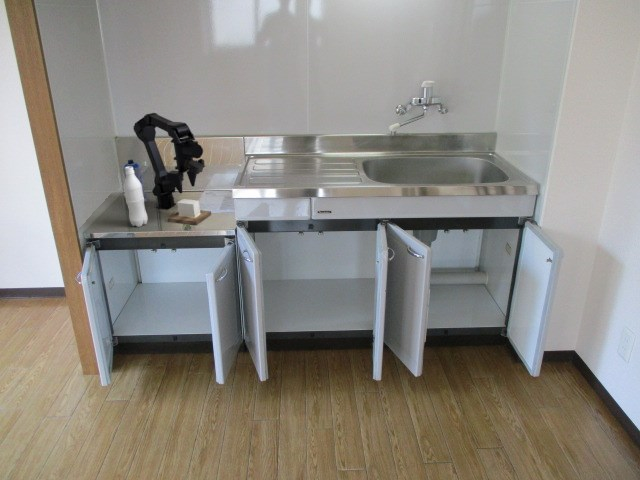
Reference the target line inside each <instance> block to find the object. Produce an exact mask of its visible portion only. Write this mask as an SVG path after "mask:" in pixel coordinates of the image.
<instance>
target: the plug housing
mask: <svg viewBox="0 0 640 480" xmlns="http://www.w3.org/2000/svg"><path fill="white" fill-rule="evenodd" d="M176 205H177V212H178V211H179V216H187V217H196V216H198V215H199V214H200V210H201V208H200V200H194V199H188V198H187V199H185V198H182V199H181V200H179V201H177V203H176Z"/></svg>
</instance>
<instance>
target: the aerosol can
mask: <svg viewBox="0 0 640 480" xmlns="http://www.w3.org/2000/svg"><path fill="white" fill-rule="evenodd" d="M127 166H133V170H134V172H135V173H134V174H135V176H136V177H137V179H138V180H139V181H140V183H141V185H142V191H143V197H144V203H147V201H148V199H147V198H146V197H147V196H146V192H145V185H144V180H143V173H142V168H141V166H140V164H138V163H137V162H134V159H128V160H127V163H125V165H124V166H123V171H122V172H123V174H124V180H125V179H126V174H125V171H126V170H125V167H127Z"/></svg>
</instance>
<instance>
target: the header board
mask: <svg viewBox="0 0 640 480" xmlns="http://www.w3.org/2000/svg"><path fill="white" fill-rule="evenodd" d="M211 215H212V211H211V210H203V209H202V210H201V209H200V214H199V215H198V216H196V217H187V216H179V211H178V210H177V211H176V212H175V213H174V214H172V215H171V216H169V217H168V218H167V222H168V223H169V222H170V223H175V224H176V223H178V224H183V225H185V224H186V225H193V226H198V225H199V224H201V223H202V222H203V221H204V220H206V219H208V218H209V217H210V216H211Z"/></svg>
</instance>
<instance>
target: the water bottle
mask: <svg viewBox="0 0 640 480" xmlns="http://www.w3.org/2000/svg"><path fill="white" fill-rule="evenodd" d="M125 170H126V171H125V174H126V179H125V178H124V182H123V187H122V188H123V191H124V196H125V202H126V205H127V207H128V212H129V216H128V220H129V222H130V224H131V225H132V226H133V227H135V226H136V227H142V226H143V225H147V223H148V213H147V211H146V207H145V202H144V197H143V191H142V185H141V183H140V181H139V180H138V179H137V177H136V176H135V174H134V173H135V172H134V170H133V166H127V167H125Z"/></svg>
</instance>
